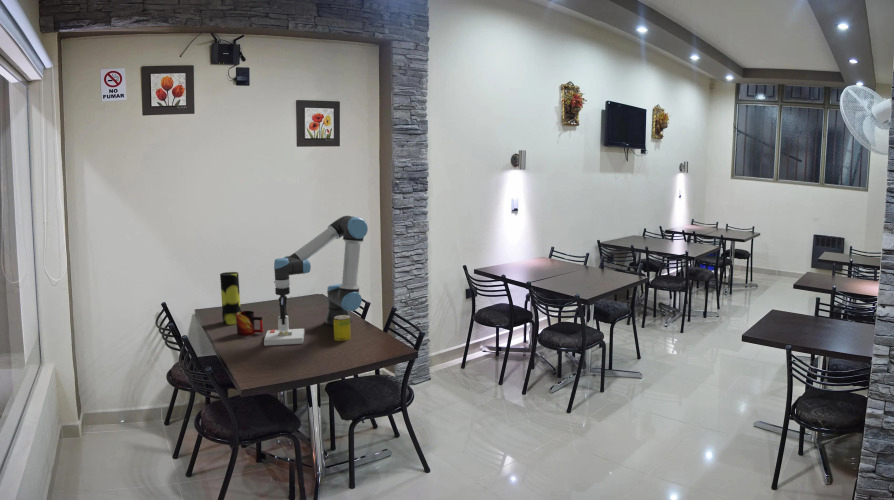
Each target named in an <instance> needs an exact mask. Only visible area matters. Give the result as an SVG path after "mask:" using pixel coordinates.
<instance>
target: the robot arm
mask: <svg viewBox="0 0 894 500" xmlns="http://www.w3.org/2000/svg"><path fill="white" fill-rule="evenodd" d="M368 228H369V227H368V224H367V222H366V221H365V220H364V219H363V218H361V217H358V216H353V215H352V216H351V215H344V216H343V215H342V216H341V217H339V218H338V219H335V220H334V221H333V222H331V223H330V224H329V225H328V226H327V228H326V229H325V230H323V231H322V232H321V233H320V234H318V235H317V236H315V237H314V238H312V239H311V240H310V241H309V242H307V243H306V244H304V245H302V247H300V248H299V249H297V250H296V251H294V252H293V253H291V254H290V255H287V256H284V257H280V258H279V257H278V258H276V259H275V258H274V261H273V262H274V263H273V269H274V281H273V283H274V286H275V288H274V291H275V292H274V293H275V295H276V296H279V297H278V303H279V311H280V312H279V313H280V314H279V316H280V318H279V319H281V330H286V315H288V316H289V313H288V312H287V311H288V309H287V304H288V302H287V300H288V296H287V295H290V294H291V292H290V291H291V289H290V284H291V283H290V276H295V275H305V274H308V273H310V272H311V269H312V267H311V262H310V260H309V259H310V258H311V257H313V256H314V255H316V253H318V252H320V251H321V250H323V249H324V248H325V247H327V246H328V245H329V244H331V243H332V242H333V241H335V240H339V239H340V238H342V240H343V241H344V244H345V245H344V252H343V253H344V255H343V256H344V257H343V270H342V278H341V279H342V282H341V283H337V284H331V285H328V286H327V289H326V290H327V291H326V294H327V313H326V317H325V324H326V325H330V326H334V319H333V317H335V316H338V315H348V316H350V323H351V322H352V316H351V314H350V312H355V311H356V310H358V309H359V308H360V307H361V305H362V301H363V299H362V296H361V294H360V287H359V285H358V278H359V277H358V276H359V275H358V274H359V266H360V265H359V263H360V251H361V244H362V243H363V242H364V237H365V236H366V235H367V233H368V230H369V229H368Z"/></svg>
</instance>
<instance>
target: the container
mask: <svg viewBox="0 0 894 500" xmlns="http://www.w3.org/2000/svg"><path fill="white" fill-rule="evenodd" d="M219 275H220V276H219V277H220V292H221V293H220V295H221V306H222V307H221V309H222V311H221V315H222V316H221V317H222V322H223V323H222V324H224V325H229V326H230V325H231V326H233V325H237V322H236V313H238V312H241V311H242V309H241V295H240V294H241V293H240V279H239V278H240V277H239V272H238V271H228V272H227V271H226V272H222V273H220V274H219Z"/></svg>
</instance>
